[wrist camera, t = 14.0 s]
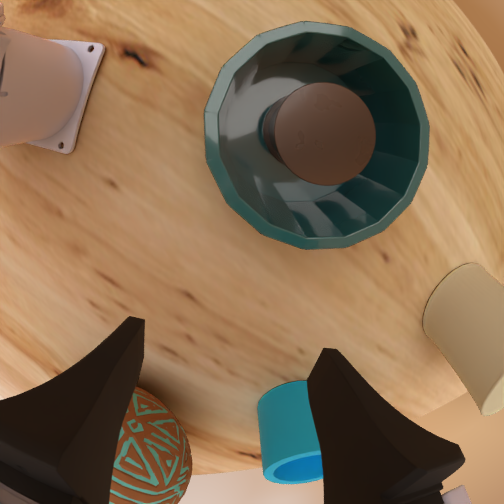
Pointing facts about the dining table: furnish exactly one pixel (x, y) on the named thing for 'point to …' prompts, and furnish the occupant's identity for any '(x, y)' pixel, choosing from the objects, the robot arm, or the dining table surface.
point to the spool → (321, 133)
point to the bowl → (277, 174)
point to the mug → (289, 436)
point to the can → (471, 332)
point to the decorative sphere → (150, 455)
